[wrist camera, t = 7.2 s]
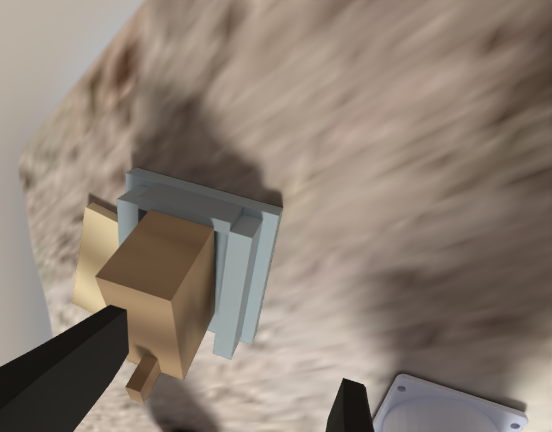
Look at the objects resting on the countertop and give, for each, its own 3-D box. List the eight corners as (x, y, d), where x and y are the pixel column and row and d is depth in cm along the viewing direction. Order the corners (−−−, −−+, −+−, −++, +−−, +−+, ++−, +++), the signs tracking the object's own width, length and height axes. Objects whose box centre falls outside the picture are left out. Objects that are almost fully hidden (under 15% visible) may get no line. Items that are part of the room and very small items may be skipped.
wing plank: (117, 310, 28) (107, 320, 27) (83, 292, 28) (72, 302, 27) (139, 219, 24) (128, 228, 23) (98, 199, 24) (85, 207, 23)
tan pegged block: (214, 313, 24) (167, 412, 19) (165, 297, 24) (108, 391, 20) (214, 227, 18) (148, 340, 14) (150, 209, 19) (65, 312, 14)
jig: (255, 334, 25) (242, 369, 23) (136, 295, 26) (110, 324, 24) (283, 208, 20) (269, 234, 18) (135, 167, 21) (102, 186, 19)
